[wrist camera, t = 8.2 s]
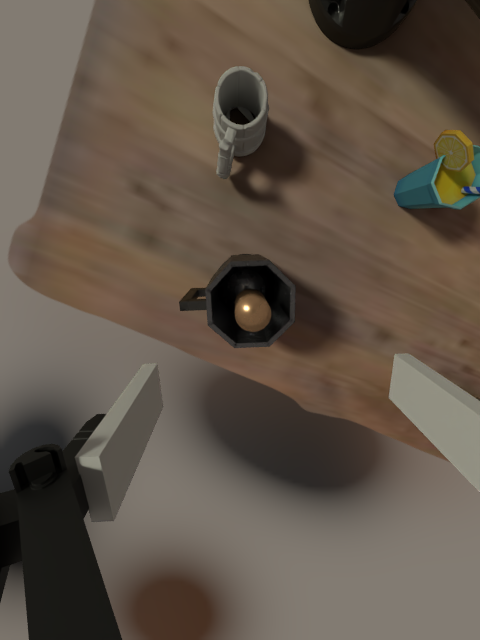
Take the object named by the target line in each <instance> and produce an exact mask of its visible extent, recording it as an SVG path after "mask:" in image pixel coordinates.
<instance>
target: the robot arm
mask: <svg viewBox="0 0 480 640" xmlns="http://www.w3.org/2000/svg"><path fill="white" fill-rule="evenodd" d="M416 1H417V0H309V4H310V8H311V11H312V14H313V16H314V18H315V20H316V22H317V24H318V26H319V27H320V29H321V30H322V31H323V32H324V34H325V35H326V36H327V37H328V38H330V39H331V40H332V41H334V42H335V43H337V44H339V45H341V46H344V47H347V48H354V49H360V48H367V47H370V46H373V45H376V44H378V43H380V42H381V41H383V40H384V39H386V38H387V37H389V36H390V35H391V34H392V33H393V32H394V31H395V30H396V29H397V28H398V27H399V25H400V24H401V23H402V21H403V20H404V19H405V17H406V16H407V15H408V14H409V12H410V11H411V9H412V8H413V6H414V5H415V3H416ZM465 1H466V2H467V3H468V5H469V6H470V7H471V9H472V10H473V11H474V12H475V14H476V15H477V16H478V18H479V19H480V0H465ZM389 399H390V400H391V401H392V402H393V403H394V404H395V405H396V406H397V407H398V408H399V409H400V410H401V411H402V412H403V413H404V414H405V415H406V416H407V417H408V418H409V419H410V420H411V421H412V422H413V424H414V425H415V426H416V427H417V428H418V429H419V430H420V431H421V432H422V433H423V434H424V435H425V436H426V437H427V438H428V439H429V440H430V441H431V442H432V443H433V444H434V445H435V446H436V447H437V448H438V450H439V451H440V452H441V453H442V454H443V455H444V456H445V457H446V458H447V459H448V460H449V461H450V462H451V463H452V464H453V465H454V466H455V467H456V468H457V469H458V470H459V471H460V472H461V473H462V475H463V476H464V477H465V478H466V479H467V480H468V481H469V482H470V483H471V484H472V485H473V486H474V487H475V488H476V489H477V490H478V491H479V492H480V399H477V398H475V397H473V396H472V395H470V394H469V393H467V392H466V391H464V390H463V389H461V388H460V387H458V386H457V385H455V384H454V383H452V382H451V381H449V380H448V379H446V378H445V377H443V376H442V375H440V374H439V373H437V372H436V371H434V370H433V369H431V368H430V367H428V366H427V365H425V364H424V363H422V362H421V361H419V360H418V359H416V358H415V357H413V356H412V355H410V354H395V356H394V363H393V370H392V377H391V384H390V391H389ZM162 408H163V401H162V394H161V386H160V379H159V372H158V365H157V363H155V364H143V365H142V367H141V368H140V369H139V371H138V372H137V374H136V375H135V376H134V377H133V379H132V381H131V382H130V383H129V384H128V386H127V387H126V388H125V390H124V391H123V392H122V394H121V395H120V397H119V398H118V399H117V401H116V402H115V404H114V405H113V406H112V407H111V409H110V410H109V411H108V413H107V414H97V415H96V416H94V417H93V418H92V419H90V420H89V421H87V422H86V423H85V424H84V426H83V427H82V428H81V430H80V431H79V433H77V434H76V436H75V437H74V438H73V440H72V441H71V442H70V443H69V444H68V445H67V447H66V448H65V449H64V450H63V452H62V449H61V448H60V446H58V445H55V444H48V445H42V446H39V447H36V448H33V449H31V450H29V451H28V452H25V453H24V454H23V455H21V456H20V457H18V458H17V459H16V460H15V461H14V463H13V464H12V465H11V467H10V470H9V473H10V476H11V479H12V482H13V485H14V488H15V489H14V490H10V491H7V492H3V493H0V602H1V598H2V594H3V590H4V586H5V582H6V579H7V575H8V571H9V567H10V565H11V564H14V563H17V562H20V561H22V562H23V574H24V585H25V597H26V610H27V622H28V633H29V640H122V638H121V635H120V631H119V629H118V625H117V622H116V619H115V616H114V613H113V610H112V607H111V604H110V600H109V598H108V595H107V592H106V588H105V585H104V582H103V579H102V576H101V573H100V569H99V566H98V563H97V560H96V557H95V554H94V551H93V548H92V545H91V541H90V538H89V535H88V532H87V529H86V526H85V523H84V520H83V519H84V517H85V515H86V513H87V511H88V510H89V513H90V517H91V521H92V522H101V521H114V519H115V517H116V515H117V513H118V510H119V508H120V506H121V503H122V501H123V499H124V497H125V494H126V491H127V489H128V487H129V485H130V483H131V480H132V478H133V476H134V473H135V471H136V469H137V466H138V464H139V462H140V459H141V457H142V455H143V452H144V450H145V447H146V445H147V443H148V441H149V438H150V436H151V434H152V432H153V429H154V427H155V424H156V422H157V420H158V418H159V415H160V413H161V411H162Z"/></svg>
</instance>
